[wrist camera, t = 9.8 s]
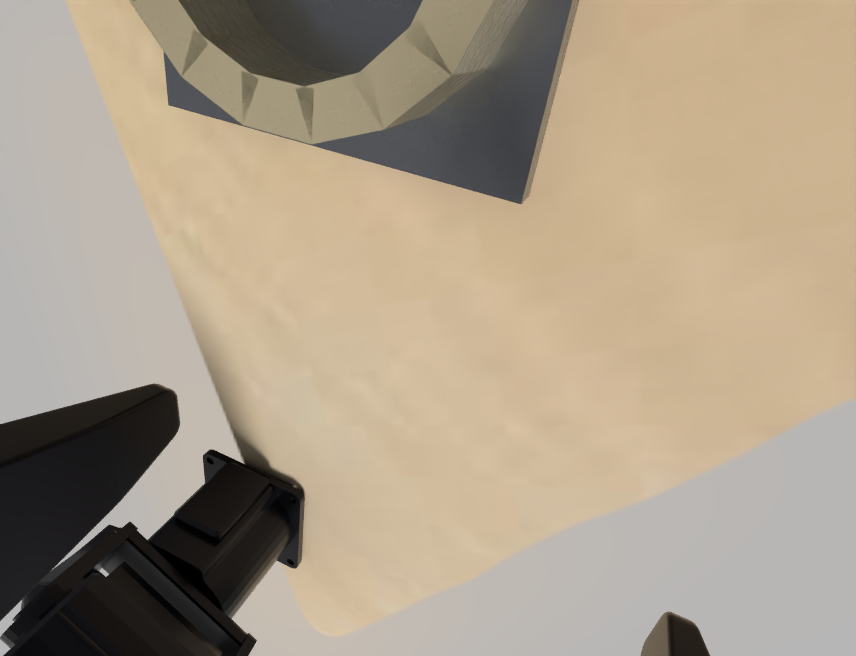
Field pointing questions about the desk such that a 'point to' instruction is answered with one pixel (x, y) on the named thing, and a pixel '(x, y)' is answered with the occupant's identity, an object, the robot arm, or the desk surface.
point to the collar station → (377, 78)
